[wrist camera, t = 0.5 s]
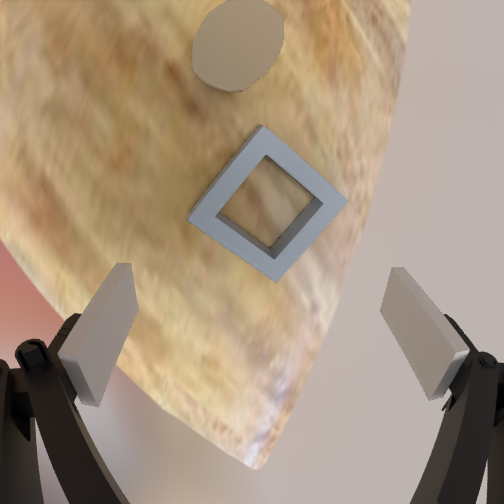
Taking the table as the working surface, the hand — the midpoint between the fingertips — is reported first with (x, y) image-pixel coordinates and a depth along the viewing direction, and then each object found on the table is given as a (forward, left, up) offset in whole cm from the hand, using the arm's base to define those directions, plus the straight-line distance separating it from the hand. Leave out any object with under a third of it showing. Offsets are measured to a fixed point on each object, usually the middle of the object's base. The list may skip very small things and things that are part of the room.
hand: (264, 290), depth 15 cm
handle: (-9, -9, -21) cm, 24 cm away
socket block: (-1, +3, -20) cm, 21 cm away
